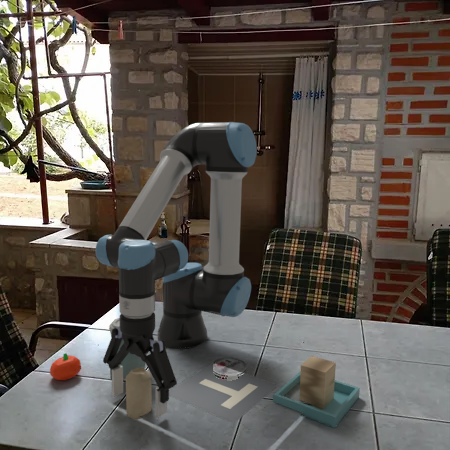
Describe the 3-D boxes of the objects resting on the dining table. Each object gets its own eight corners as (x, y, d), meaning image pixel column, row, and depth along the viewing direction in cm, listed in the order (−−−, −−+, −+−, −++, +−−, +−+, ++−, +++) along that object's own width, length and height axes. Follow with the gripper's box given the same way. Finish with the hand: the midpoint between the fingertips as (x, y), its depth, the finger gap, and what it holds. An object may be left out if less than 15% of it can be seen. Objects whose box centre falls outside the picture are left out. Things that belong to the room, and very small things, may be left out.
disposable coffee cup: (101, 380, 118) (99, 323, 115) (124, 361, 127) (123, 309, 125) (138, 388, 114) (137, 330, 111) (159, 368, 124) (159, 314, 121)
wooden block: (299, 401, 109) (300, 365, 107) (310, 390, 113) (312, 355, 112) (323, 409, 105) (325, 372, 104) (333, 398, 110) (335, 362, 108)
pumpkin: (44, 384, 116) (40, 359, 116) (67, 370, 124) (63, 346, 123) (67, 386, 113) (63, 361, 113) (88, 372, 121) (85, 348, 120)
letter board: (163, 396, 110) (163, 393, 110) (214, 364, 126) (214, 361, 126) (233, 426, 99) (233, 423, 99) (279, 387, 115) (279, 384, 115)
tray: (273, 404, 108) (273, 394, 107) (301, 378, 120) (302, 369, 119) (334, 428, 99) (335, 417, 99) (359, 397, 111) (359, 387, 111)
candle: (146, 420, 101) (145, 377, 99) (122, 417, 102) (121, 375, 100) (155, 406, 106) (154, 366, 104) (132, 403, 107) (131, 363, 105)
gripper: (85, 305, 104) (88, 393, 108) (169, 332, 90) (169, 432, 93) (111, 296, 110) (113, 380, 114) (193, 321, 96) (193, 415, 99)
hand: (138, 404), depth 103 cm, fingers open, 13 cm apart
